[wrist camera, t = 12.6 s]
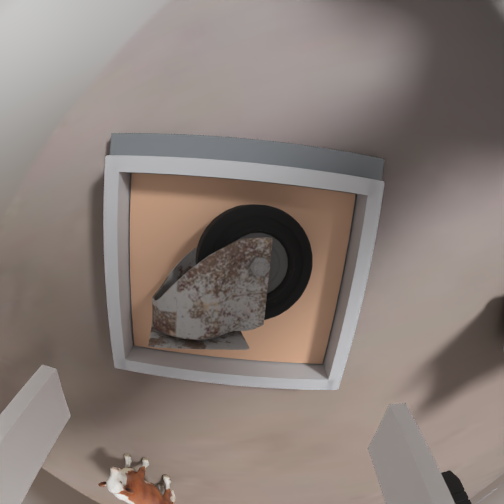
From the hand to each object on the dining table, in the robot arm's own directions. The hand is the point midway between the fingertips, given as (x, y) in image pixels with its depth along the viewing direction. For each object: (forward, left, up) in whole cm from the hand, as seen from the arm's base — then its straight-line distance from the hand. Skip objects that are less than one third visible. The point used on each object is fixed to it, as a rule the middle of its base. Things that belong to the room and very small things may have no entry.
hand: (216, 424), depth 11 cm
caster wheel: (-1, 0, -16) cm, 16 cm away
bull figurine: (+30, -10, -18) cm, 36 cm away
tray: (0, 0, -17) cm, 17 cm away
